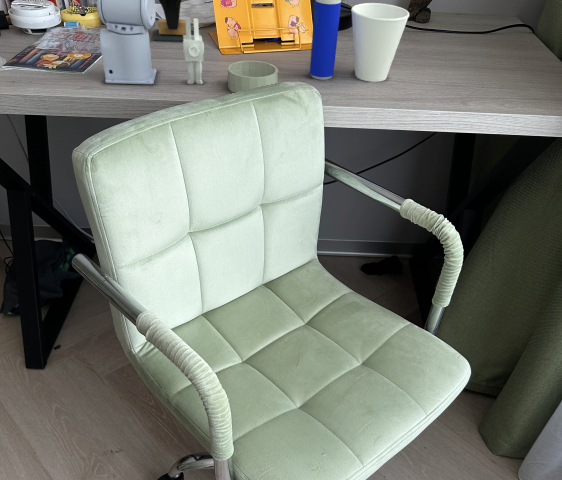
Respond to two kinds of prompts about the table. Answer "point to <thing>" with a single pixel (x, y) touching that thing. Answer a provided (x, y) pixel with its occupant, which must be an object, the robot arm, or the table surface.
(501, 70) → the table surface
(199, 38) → the toy robot
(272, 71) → the tin
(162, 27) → the tan wooden block
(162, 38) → the coaster
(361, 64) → the cup
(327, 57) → the beverage can
